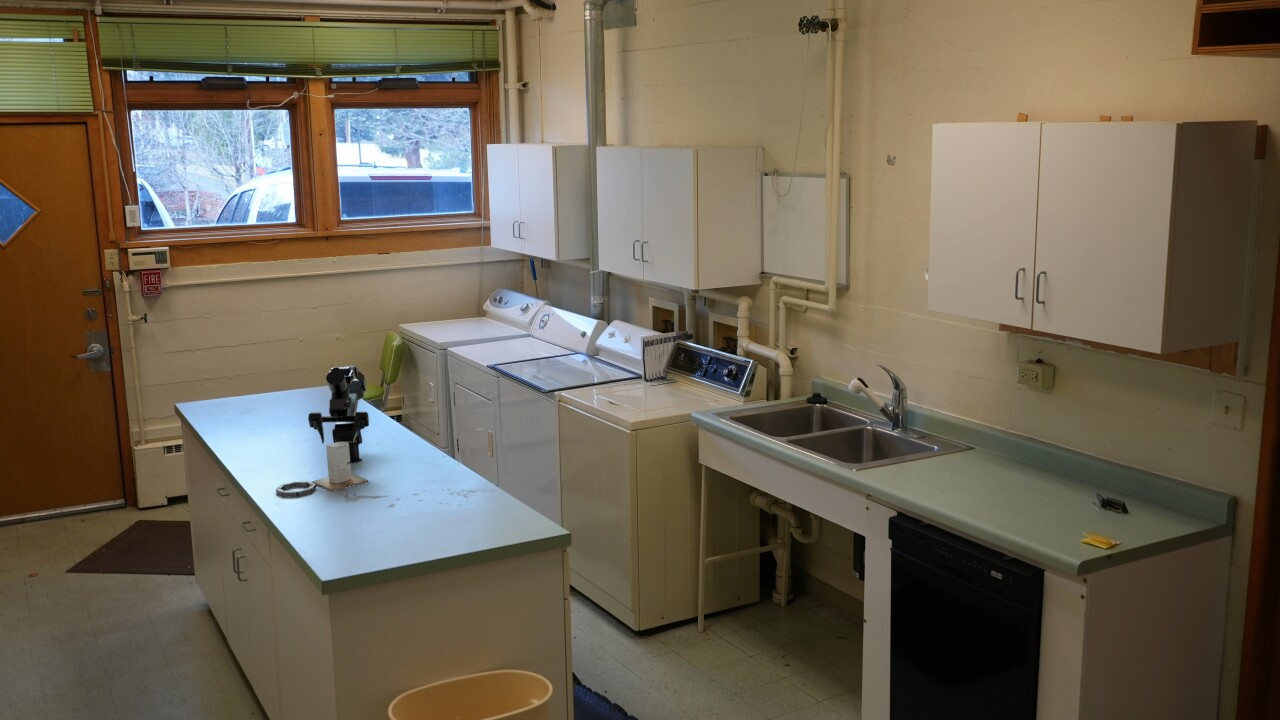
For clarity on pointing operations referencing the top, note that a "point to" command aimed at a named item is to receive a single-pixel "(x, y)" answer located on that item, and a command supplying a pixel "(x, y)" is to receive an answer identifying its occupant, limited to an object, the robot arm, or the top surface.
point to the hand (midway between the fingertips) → (337, 442)
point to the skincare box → (338, 462)
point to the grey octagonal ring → (309, 490)
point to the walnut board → (334, 486)
